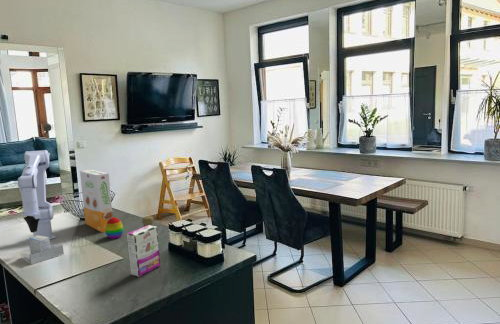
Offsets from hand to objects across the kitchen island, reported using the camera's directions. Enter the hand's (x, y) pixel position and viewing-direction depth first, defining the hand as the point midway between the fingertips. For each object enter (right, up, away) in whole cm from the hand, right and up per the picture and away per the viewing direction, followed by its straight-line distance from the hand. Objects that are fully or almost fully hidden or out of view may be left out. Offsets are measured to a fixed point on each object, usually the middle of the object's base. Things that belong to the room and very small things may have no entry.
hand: (33, 231), depth 164 cm
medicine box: (+6, -10, -5) cm, 13 cm away
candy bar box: (+56, -11, -23) cm, 62 cm away
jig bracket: (+6, -10, -4) cm, 12 cm away
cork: (+48, -6, +13) cm, 50 cm away
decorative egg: (+30, -6, +17) cm, 35 cm away
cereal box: (+15, -4, +35) cm, 38 cm away
